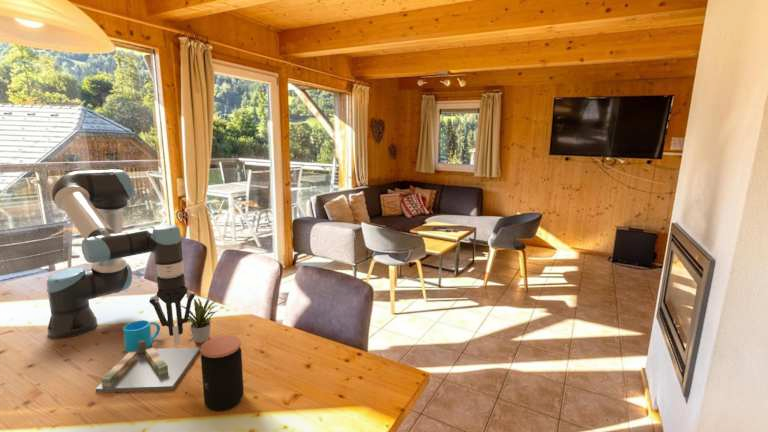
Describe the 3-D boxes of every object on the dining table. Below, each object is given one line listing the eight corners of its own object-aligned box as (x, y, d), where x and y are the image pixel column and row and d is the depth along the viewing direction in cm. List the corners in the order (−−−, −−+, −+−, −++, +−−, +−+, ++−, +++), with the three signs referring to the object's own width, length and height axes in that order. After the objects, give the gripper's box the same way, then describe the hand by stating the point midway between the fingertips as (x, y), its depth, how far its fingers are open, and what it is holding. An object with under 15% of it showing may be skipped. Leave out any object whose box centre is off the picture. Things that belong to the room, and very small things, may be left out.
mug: (132, 354, 135) (130, 333, 133) (121, 347, 139) (118, 327, 137) (166, 340, 145) (164, 320, 143) (155, 334, 149) (153, 314, 147)
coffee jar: (212, 389, 117) (208, 335, 114) (247, 388, 118) (245, 334, 115) (198, 413, 107) (193, 355, 103) (237, 412, 108) (234, 354, 104)
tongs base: (137, 350, 135) (136, 338, 134) (152, 350, 136) (151, 338, 135) (102, 386, 115) (100, 373, 115) (119, 386, 116) (117, 372, 115)
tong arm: (146, 356, 131) (145, 349, 131) (154, 353, 133) (153, 347, 133) (159, 375, 121) (158, 368, 121) (168, 372, 123) (167, 365, 122)
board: (135, 352, 136) (135, 349, 136) (200, 350, 138) (199, 347, 138) (96, 392, 115) (95, 388, 114) (173, 389, 117) (172, 386, 116)
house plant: (233, 335, 149) (230, 296, 146) (203, 352, 137) (200, 310, 134) (206, 327, 155) (204, 289, 152) (176, 343, 143) (172, 302, 139)
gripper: (144, 281, 114) (152, 353, 119) (193, 275, 119) (199, 345, 124) (148, 273, 121) (155, 341, 125) (194, 268, 126) (199, 334, 131)
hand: (177, 343), depth 125 cm, fingers closed
